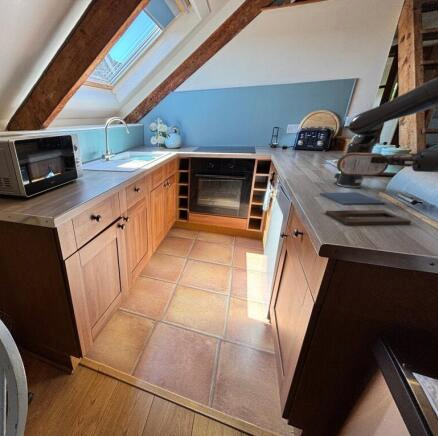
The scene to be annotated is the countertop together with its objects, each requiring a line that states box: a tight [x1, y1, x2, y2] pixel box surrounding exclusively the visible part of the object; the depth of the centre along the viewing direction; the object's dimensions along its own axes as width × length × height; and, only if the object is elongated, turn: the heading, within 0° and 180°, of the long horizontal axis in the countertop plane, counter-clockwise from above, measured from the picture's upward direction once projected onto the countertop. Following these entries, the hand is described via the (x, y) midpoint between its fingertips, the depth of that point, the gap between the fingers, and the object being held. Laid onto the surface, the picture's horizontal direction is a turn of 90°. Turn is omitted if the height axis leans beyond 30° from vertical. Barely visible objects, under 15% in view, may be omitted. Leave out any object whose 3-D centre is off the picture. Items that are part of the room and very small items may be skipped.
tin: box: [336, 152, 389, 177], centre depth 93 cm, size 15×3×8 cm, turn 60°
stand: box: [325, 209, 412, 226], centre depth 82 cm, size 10×20×1 cm, turn 89°
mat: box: [320, 192, 386, 205], centre depth 101 cm, size 14×16×1 cm
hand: (370, 159), depth 91 cm, fingers closed on tin, 2 cm apart
